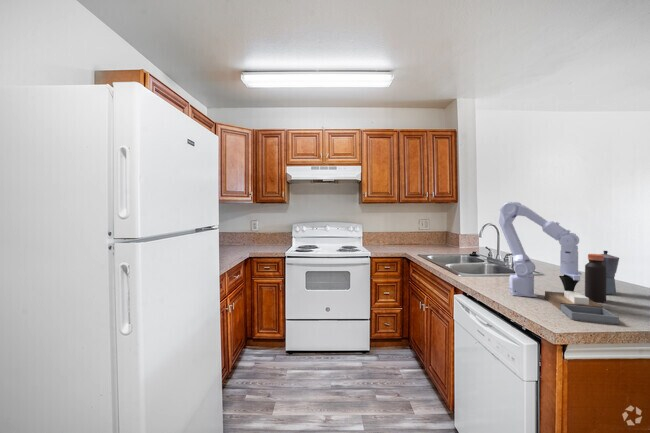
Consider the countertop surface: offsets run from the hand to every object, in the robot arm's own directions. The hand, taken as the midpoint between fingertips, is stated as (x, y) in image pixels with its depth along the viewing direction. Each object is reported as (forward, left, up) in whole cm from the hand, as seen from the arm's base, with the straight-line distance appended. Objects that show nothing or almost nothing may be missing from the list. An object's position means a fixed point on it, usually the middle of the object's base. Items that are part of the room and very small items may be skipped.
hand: (569, 293), depth 120 cm
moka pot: (+21, +23, -4) cm, 31 cm away
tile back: (0, -4, -1) cm, 4 cm away
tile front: (0, -9, -1) cm, 9 cm away
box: (-1, -17, -4) cm, 18 cm away
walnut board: (-1, -4, -4) cm, 5 cm away
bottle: (+12, +8, -4) cm, 15 cm away
